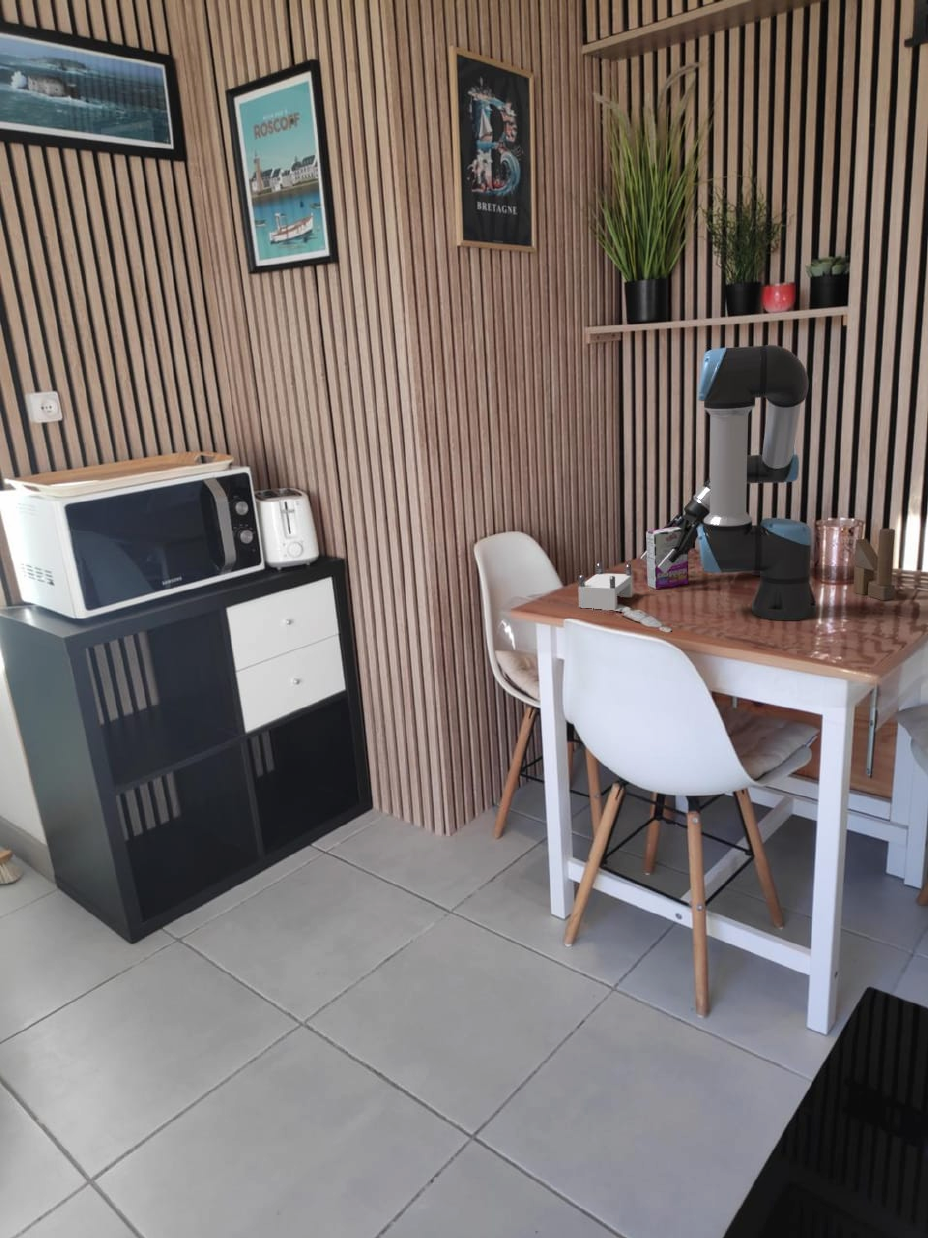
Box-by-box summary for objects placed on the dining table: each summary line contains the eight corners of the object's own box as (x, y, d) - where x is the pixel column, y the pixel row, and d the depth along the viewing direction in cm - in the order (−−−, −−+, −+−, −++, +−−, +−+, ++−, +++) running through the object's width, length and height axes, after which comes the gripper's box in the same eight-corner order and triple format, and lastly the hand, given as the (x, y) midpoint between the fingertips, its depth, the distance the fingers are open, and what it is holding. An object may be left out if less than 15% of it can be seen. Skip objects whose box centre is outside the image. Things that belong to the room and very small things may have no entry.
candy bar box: (679, 580, 264) (678, 525, 260) (689, 584, 260) (689, 527, 255) (646, 586, 261) (645, 530, 256) (655, 590, 256) (655, 533, 252)
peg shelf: (632, 595, 252) (632, 564, 250) (615, 610, 239) (614, 577, 236) (598, 593, 257) (597, 562, 254) (579, 608, 243) (577, 575, 241)
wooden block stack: (863, 590, 241) (867, 523, 236) (894, 599, 231) (899, 529, 227) (852, 592, 240) (855, 525, 235) (883, 601, 230) (887, 531, 225)
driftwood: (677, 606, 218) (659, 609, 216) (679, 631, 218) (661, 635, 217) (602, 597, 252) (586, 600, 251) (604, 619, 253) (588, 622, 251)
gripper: (731, 521, 246) (679, 582, 247) (692, 509, 269) (644, 565, 270) (713, 504, 244) (661, 565, 245) (675, 492, 266) (627, 549, 268)
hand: (652, 565), depth 258 cm, fingers open, 12 cm apart
